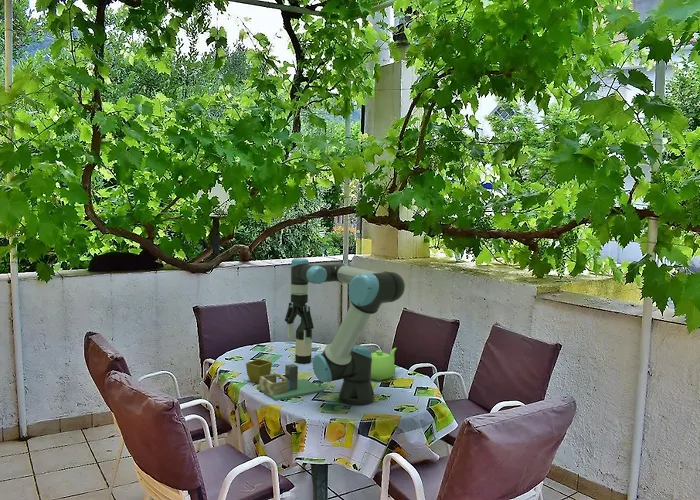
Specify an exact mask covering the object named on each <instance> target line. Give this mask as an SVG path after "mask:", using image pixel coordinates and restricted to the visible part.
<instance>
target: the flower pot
mask: <svg viewBox="0 0 700 500" xmlns="http://www.w3.org/2000/svg"><path fill="white" fill-rule="evenodd" d="M272 365H273V361H270V360H266V359H265V360H264V359H261V358H256V359H253V360H251V361H248V362H246V363H245V366H246V367H245V368H246V374H247V377H248V378H249V380H250V382H253V383H256V384H259V376H266V375H271V371H272Z"/></svg>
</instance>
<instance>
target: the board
mask: <svg viewBox="0 0 700 500" xmlns="http://www.w3.org/2000/svg"><path fill="white" fill-rule="evenodd" d="M256 390H259V391H260V392H261V393H263V394H265V395H266V396H267V397H269V399H272V400H273V401H274V402H275V401H280V400H286V399H292V398H298V397H304V396H308V395H313V394H319V393H325V389H324V388H322V387H320V386H319V385H317V384H315V383H314V382H311V381H309V380H308V379H306V378H299V379H298V380H297V389H292V390H288V393H282V394H277V395H269V394H267V393H265V392H264V391H262V390H261V389H260V388H259V385H258V386H256Z"/></svg>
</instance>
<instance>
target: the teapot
mask: <svg viewBox="0 0 700 500" xmlns="http://www.w3.org/2000/svg"><path fill="white" fill-rule="evenodd" d="M396 351H397V347H394V348H392V349H391V351H390V353H386V352H383V350H379V349H377V350H376V351H375V352H371V356H372V362H371V380H375V381H376V380H381V381H382V380H388V378H389V379H391V378H392V377H393V376H395V373H396V367H395V352H396Z"/></svg>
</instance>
